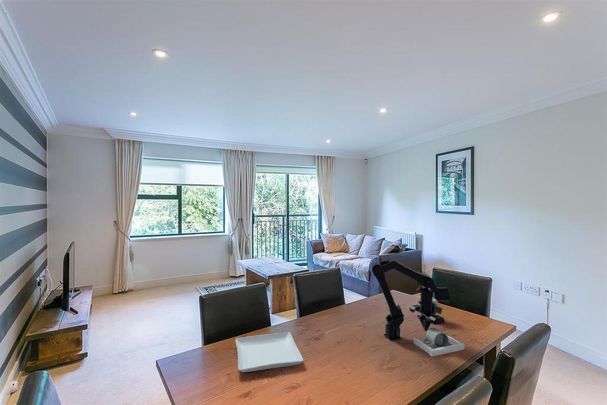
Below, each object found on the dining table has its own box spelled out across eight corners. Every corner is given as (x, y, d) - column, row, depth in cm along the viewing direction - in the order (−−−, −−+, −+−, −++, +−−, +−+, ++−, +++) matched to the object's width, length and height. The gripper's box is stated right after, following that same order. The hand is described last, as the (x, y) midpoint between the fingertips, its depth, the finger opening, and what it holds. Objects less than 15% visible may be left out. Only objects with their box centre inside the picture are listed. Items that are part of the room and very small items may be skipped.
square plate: (238, 379, 117) (238, 369, 117) (235, 345, 143) (235, 337, 143) (304, 368, 124) (304, 359, 124) (289, 338, 150) (289, 330, 150)
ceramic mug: (438, 340, 147) (438, 325, 147) (449, 348, 139) (448, 332, 139) (418, 342, 145) (418, 327, 145) (428, 351, 137) (428, 334, 137)
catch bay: (431, 356, 132) (431, 351, 132) (412, 343, 144) (412, 338, 144) (464, 349, 138) (464, 344, 138) (443, 337, 150) (443, 332, 150)
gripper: (453, 305, 142) (453, 337, 142) (426, 292, 160) (426, 321, 160) (435, 307, 138) (434, 340, 139) (409, 295, 156) (408, 324, 156)
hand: (426, 331), depth 149 cm, fingers closed
